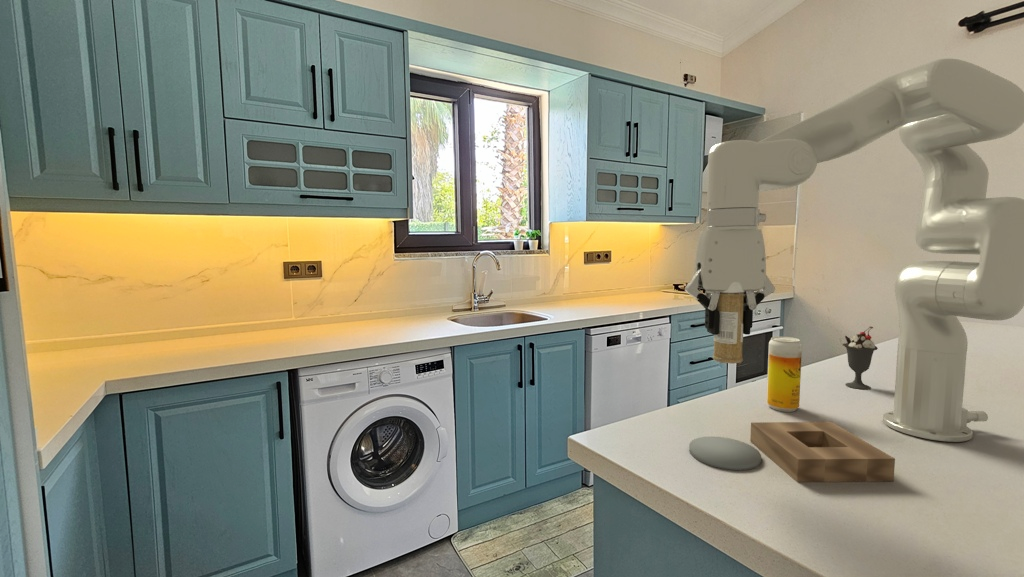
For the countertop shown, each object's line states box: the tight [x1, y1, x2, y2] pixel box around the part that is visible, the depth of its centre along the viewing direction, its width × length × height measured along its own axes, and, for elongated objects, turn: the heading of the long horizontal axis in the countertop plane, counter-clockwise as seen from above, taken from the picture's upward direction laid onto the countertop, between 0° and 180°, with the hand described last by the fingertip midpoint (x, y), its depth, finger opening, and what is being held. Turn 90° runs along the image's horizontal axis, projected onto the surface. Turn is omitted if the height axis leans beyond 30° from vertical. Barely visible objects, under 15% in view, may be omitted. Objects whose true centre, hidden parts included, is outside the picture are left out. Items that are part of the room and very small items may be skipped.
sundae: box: [842, 326, 878, 390], centre depth 113 cm, size 7×7×15 cm
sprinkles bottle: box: [712, 282, 745, 364], centre depth 76 cm, size 5×5×14 cm
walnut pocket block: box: [749, 421, 896, 483], centre depth 76 cm, size 14×14×4 cm
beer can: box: [766, 336, 803, 413], centre depth 99 cm, size 6×6×15 cm
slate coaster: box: [688, 435, 762, 471], centre depth 79 cm, size 11×11×1 cm
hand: (728, 331), depth 77 cm, fingers closed on sprinkles bottle, 4 cm apart
